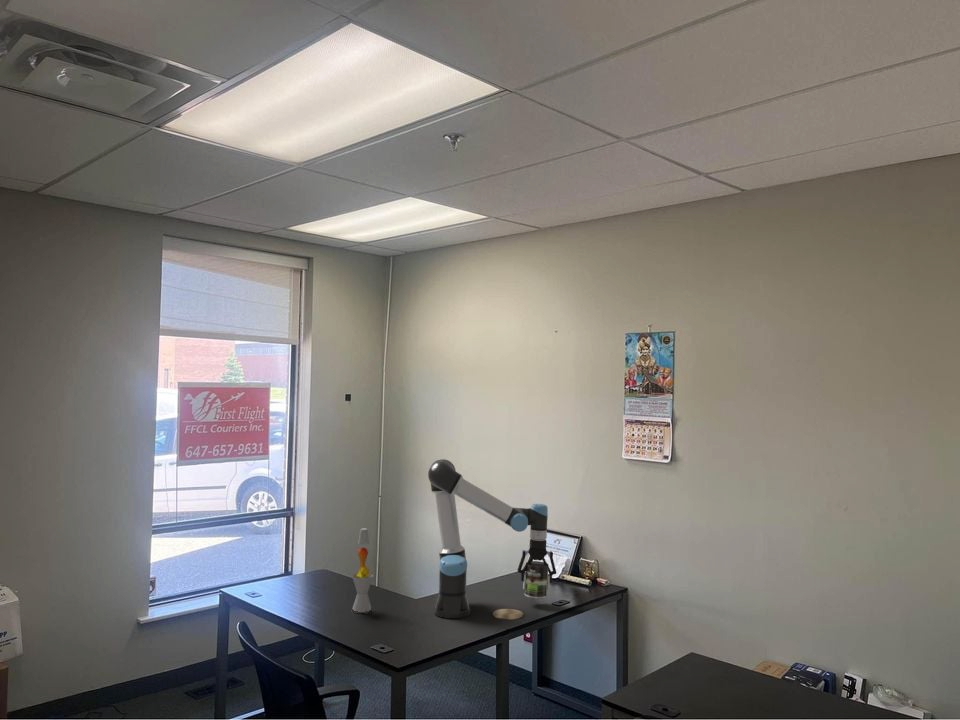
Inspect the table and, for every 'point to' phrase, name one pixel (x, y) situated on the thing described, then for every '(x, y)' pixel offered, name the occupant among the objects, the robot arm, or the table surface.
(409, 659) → the table surface
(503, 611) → the cork mat
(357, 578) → the lava lamp
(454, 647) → the table surface
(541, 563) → the coffee can
